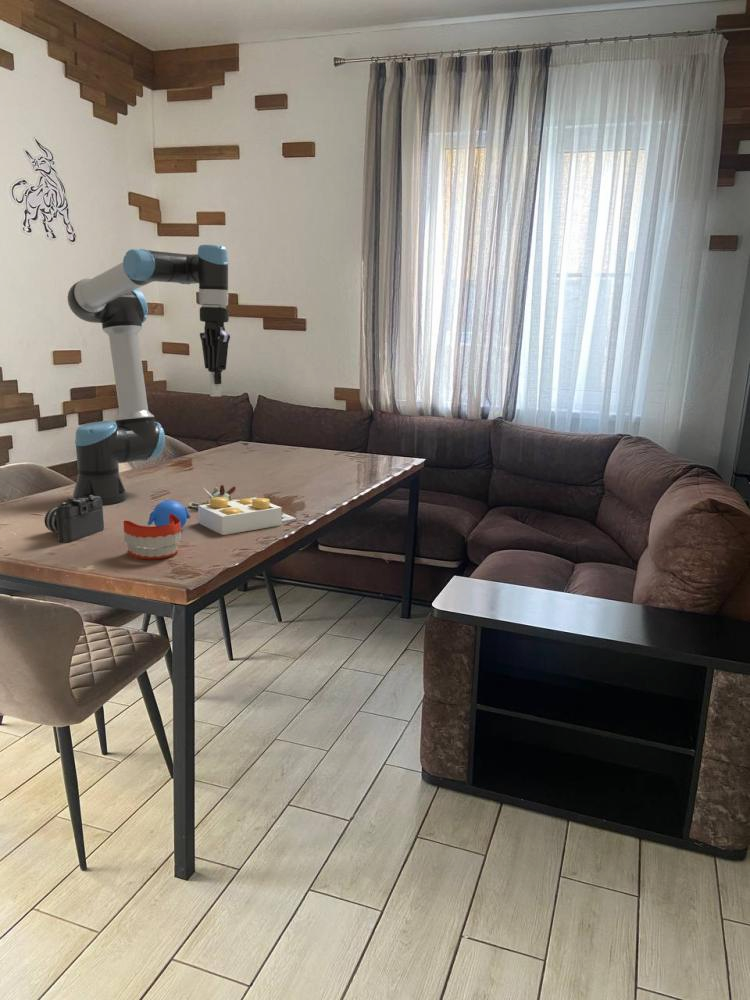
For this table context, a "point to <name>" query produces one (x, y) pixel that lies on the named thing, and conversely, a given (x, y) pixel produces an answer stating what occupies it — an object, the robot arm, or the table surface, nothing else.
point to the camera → (76, 518)
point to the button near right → (260, 503)
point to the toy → (153, 539)
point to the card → (287, 518)
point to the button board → (239, 518)
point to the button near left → (231, 511)
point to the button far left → (218, 502)
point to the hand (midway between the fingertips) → (215, 396)
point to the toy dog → (216, 495)
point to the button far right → (245, 501)
